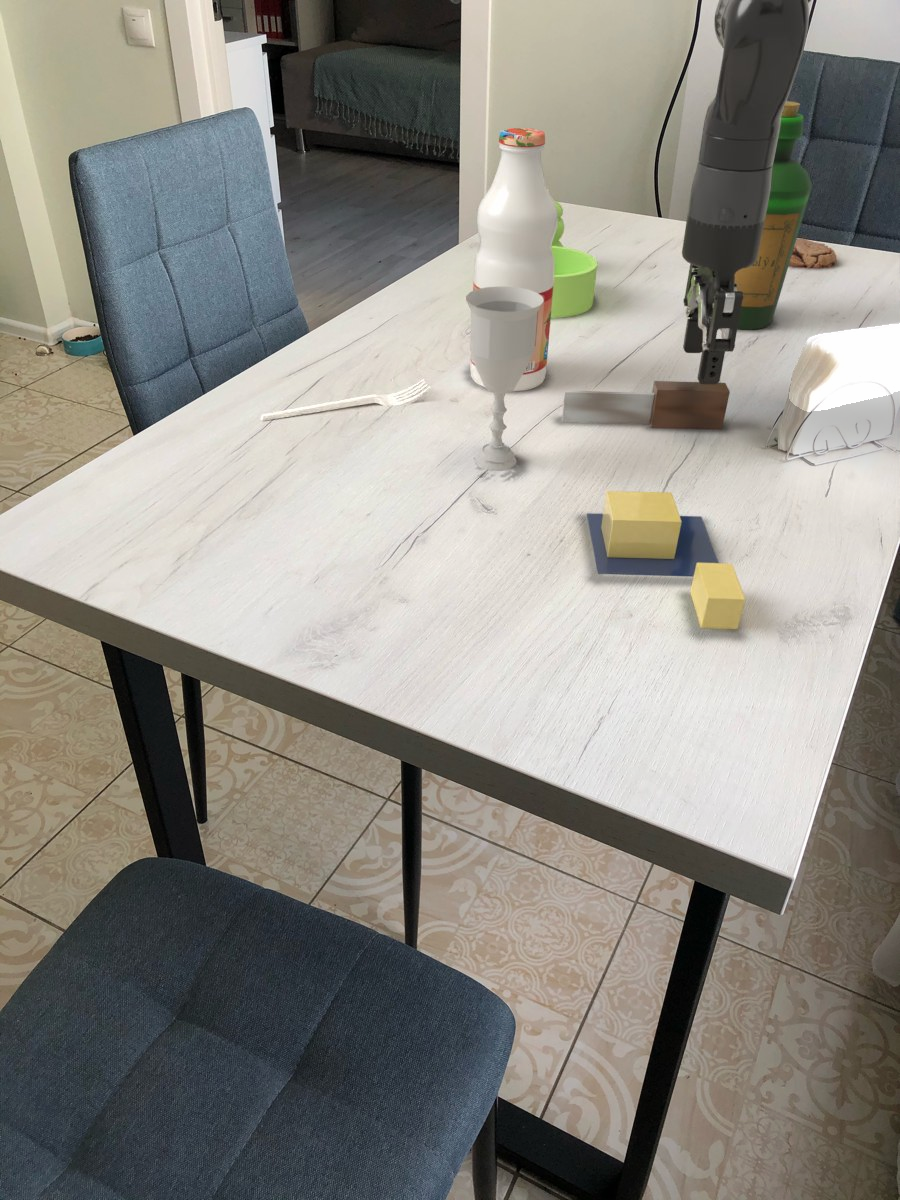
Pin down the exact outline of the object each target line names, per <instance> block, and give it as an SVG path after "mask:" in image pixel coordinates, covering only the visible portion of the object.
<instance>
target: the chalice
mask: <svg viewBox="0 0 900 1200" xmlns="http://www.w3.org/2000/svg"><path fill="white" fill-rule="evenodd" d="M465 301H466V304H467V305H468V307H469V309H470V336H469V350H470V355H471V354H472V357H473V360H474V364H475V367H476V369H477V371H478V373H479V375H480V378H481V380H482V382H483V384H484V386H485V387H484V388H485V389H486V390H487V391H489V392H491V393H493V397H494V400H493V403H492V404H493V405H492V406H491V407H490V412H491V413H492V417H493V418H492V421H491V422H490V424H489V425H488V428H489V429H490V430H491V435H492V437H491V441H489V443H486V444H484V445H483V446H482V447H481V448H480V449H479V450H478V451H477V453H478V454H477V455H476V457H475V458H474V462H475V464H476V465H477V466H478V467H480V468H481V469H484V470H487V471H492V472H493V471H494V472H501V471H507V470H510V469H512V468H513V467H515V466H516V465H517V458H516V457H515V452H514V451H513V450H512V449H511V447H509V445H507V444H505V442H504V441H503V437H502V436H503V433H504V431H505V430H506V429H507V425H506V424H505V423H504V415H505V413H506V412H507V410H508V409H507V407H506V406H505V405H506V404H505V396H506V394H508V393H510V392H513V391H512V390H513V389H514V388H515V386H516V385H517V383H518V381H519V380H520V378H521V376H522V375H523V373H524V371H525V370H526V368H527V366H528V363H529V361H530V359H531V357H532V354H533V352H534V345H535V332H536V319H537V311H538V310H539V308H540V306H541V305H542V303H543V297H542V296H541V295H539V294H538V293H536V292H534V291H531V290H527V289H523V288H517V287H486V288H482V289H477V290H474V291H473V290H472V291H470V292H468V294H466V296H465Z"/></svg>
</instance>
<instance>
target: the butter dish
mask: <svg viewBox="0 0 900 1200" xmlns="http://www.w3.org/2000/svg"><path fill="white" fill-rule="evenodd" d="M604 497H605V498H604V505H603V512H602V513H592V512H591V513H589V512H588V513H586V517H587V523H588V528H589V533H590V538H591V545H592V550H593V557H594V560H595V565H596V571H597V574H598V575H617V576H618V575H619V576H621V575H622V576H624V575H625V576H657V577H658V576H659V577H692V578H693V577H694V573H695V568H696V564H697V563H719V561H718V558H717V555H716V552H715V549H714V547H713V544H712V542H711V538H710V536H709V533H708V530H707V528H706V526H705V523H704V520H703V517H702V516H698V515H697V516H696V515H680V513H679V510H678V507H677V504H676V500H675V497H674V495H673V492H668V491H667V492H662V491H631V490H630V491H627V490H606V491H605V496H604Z"/></svg>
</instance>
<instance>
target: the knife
mask: <svg viewBox="0 0 900 1200" xmlns="http://www.w3.org/2000/svg"><path fill="white" fill-rule="evenodd" d="M730 393H731V391H730V389H729V387H728V386H727V383H726V382H719V383H717V384H700V383H699V381H675V380H674V381H673V380H672V381H671V380H669V381H667V380H653V385H652V392H635V391H633V392H632V391H601V390H600V391H598V390H597V391H594V390H564V393H563V403H562V405H563V406H562V413H561V422H562V423H585V424H619V425H621V424H623V425H625V424H627V425H649V427H650V428H651V429H669V430H671V429H672V430H673V429H674V430H705V431H706V430H708V431H710V430H711V431H722V430H723V425H724V422H725V417H726V412H727V407H728V403H729V398H730Z"/></svg>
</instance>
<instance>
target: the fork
mask: <svg viewBox="0 0 900 1200" xmlns="http://www.w3.org/2000/svg"><path fill="white" fill-rule="evenodd" d="M430 389H431V386H429V384H428V383H427V381H425V379H421V380H420V381H418V382H417V383H415V384H413V385H411V386H409V387H407V388H405V389H402V390H400V391H397V392H393V393H390V394H375V393H374V394H368V395H362V396H356V397H351V398H344V399H340V400H334V401H328V402H323V403H317V404H312V405H311V404H310V405H306V406H301V407H296V408H290V409H285V410H279V411H274V412H268V413H263V414H261V415H260V421H262V422H265V421H271V420H276V419H277V420H278V419H283V418H289V417H295V416H296V417H297V416H301V415H308V414H313V413H319V412H325V411H332V410H337V409H344V408H351V407H355V406H362V405H368V404H378V405H380V406H383V407H396V406H403V405H410V404H412V403H413V402H415V401H417V400H418V399H420V398H421V397H422V396H423V395H424V394H426V393H427V392H428V391H429V390H430Z"/></svg>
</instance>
